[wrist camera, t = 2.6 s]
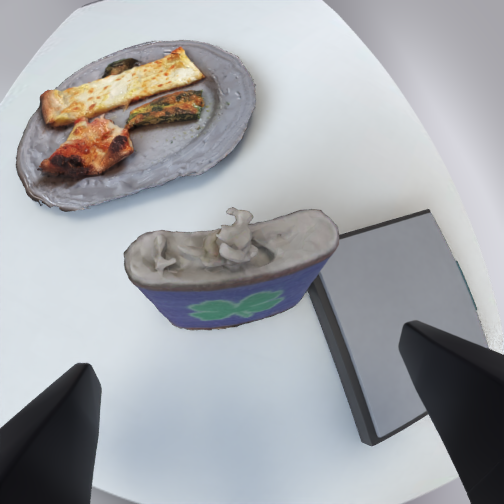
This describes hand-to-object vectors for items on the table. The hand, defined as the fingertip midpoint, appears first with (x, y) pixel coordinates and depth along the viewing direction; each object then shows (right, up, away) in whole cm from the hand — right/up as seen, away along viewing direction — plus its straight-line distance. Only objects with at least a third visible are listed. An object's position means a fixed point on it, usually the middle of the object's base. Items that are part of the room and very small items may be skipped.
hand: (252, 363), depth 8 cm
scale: (+11, -2, +12) cm, 17 cm away
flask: (-1, -1, +13) cm, 13 cm away
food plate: (-12, +17, +19) cm, 28 cm away
